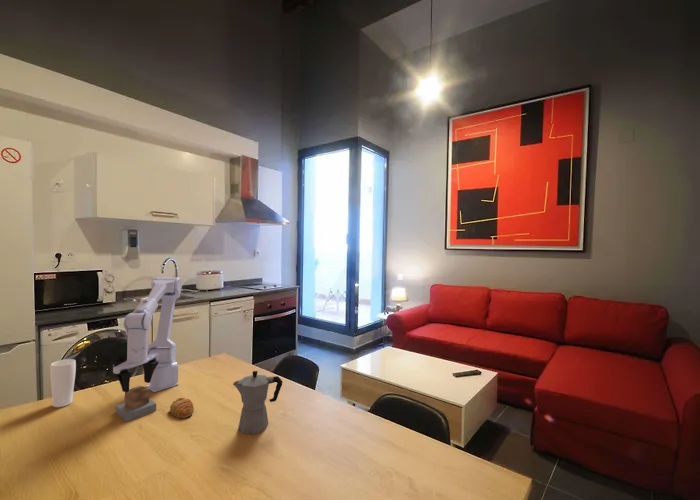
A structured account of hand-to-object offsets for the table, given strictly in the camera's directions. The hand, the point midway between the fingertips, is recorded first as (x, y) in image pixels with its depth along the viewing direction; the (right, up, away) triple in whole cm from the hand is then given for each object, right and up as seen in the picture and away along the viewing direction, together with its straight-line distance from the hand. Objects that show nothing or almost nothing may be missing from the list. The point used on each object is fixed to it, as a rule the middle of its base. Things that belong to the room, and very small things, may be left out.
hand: (136, 386), depth 109 cm
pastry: (+15, -10, +1) cm, 18 cm away
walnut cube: (0, -6, 0) cm, 6 cm away
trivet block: (0, -9, 0) cm, 9 cm away
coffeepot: (+43, -10, -6) cm, 45 cm away
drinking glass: (-28, -8, +3) cm, 30 cm away
